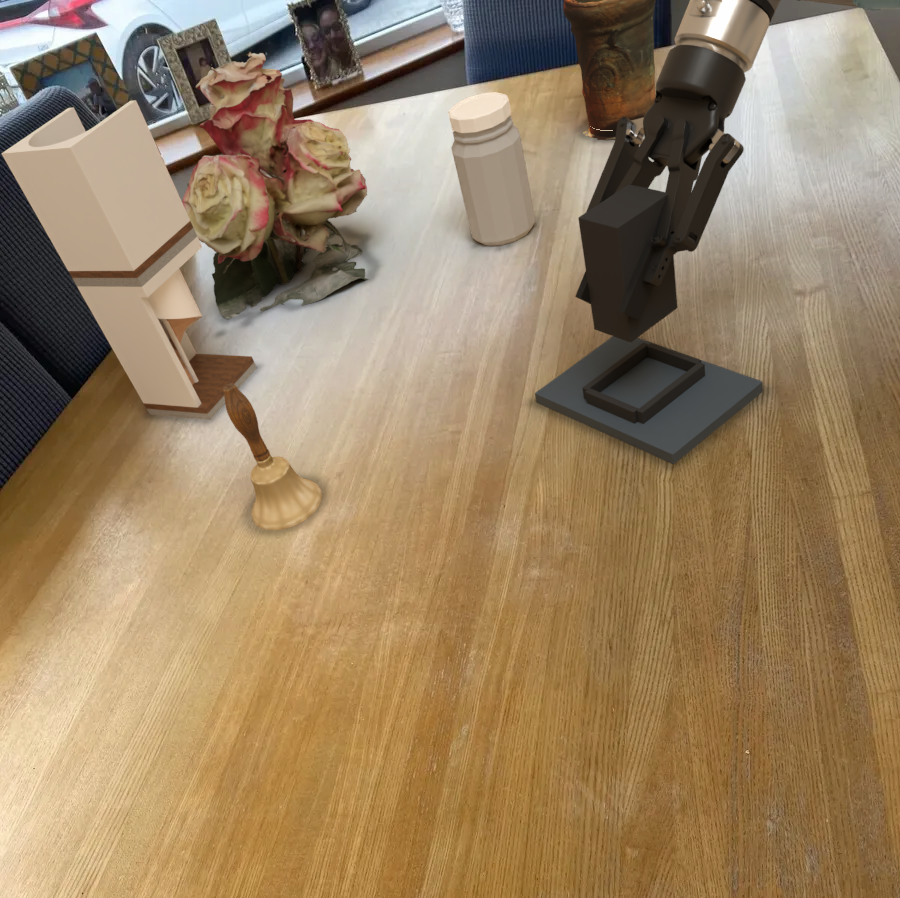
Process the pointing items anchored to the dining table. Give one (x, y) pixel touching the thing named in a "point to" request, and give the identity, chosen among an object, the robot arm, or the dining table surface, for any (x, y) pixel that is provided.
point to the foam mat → (649, 396)
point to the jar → (491, 169)
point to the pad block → (623, 259)
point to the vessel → (614, 59)
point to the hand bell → (271, 473)
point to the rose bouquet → (270, 191)
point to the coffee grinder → (126, 252)
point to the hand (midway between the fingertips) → (606, 308)
